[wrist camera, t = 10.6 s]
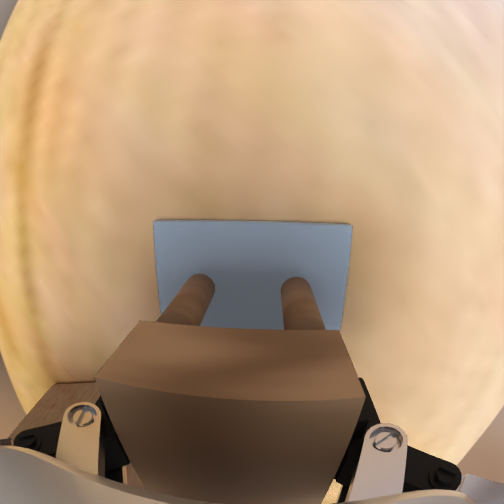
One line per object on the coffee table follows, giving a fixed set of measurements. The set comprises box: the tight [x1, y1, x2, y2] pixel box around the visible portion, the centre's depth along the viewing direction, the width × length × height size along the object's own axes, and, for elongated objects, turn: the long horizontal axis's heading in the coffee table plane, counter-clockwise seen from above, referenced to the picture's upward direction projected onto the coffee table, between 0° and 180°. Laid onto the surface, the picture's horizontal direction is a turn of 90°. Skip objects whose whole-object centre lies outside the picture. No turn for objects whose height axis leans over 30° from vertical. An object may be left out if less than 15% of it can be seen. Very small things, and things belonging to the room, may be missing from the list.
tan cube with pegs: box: [95, 274, 366, 504], centre depth 10 cm, size 6×6×8 cm
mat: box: [153, 220, 353, 332], centre depth 15 cm, size 10×10×1 cm
